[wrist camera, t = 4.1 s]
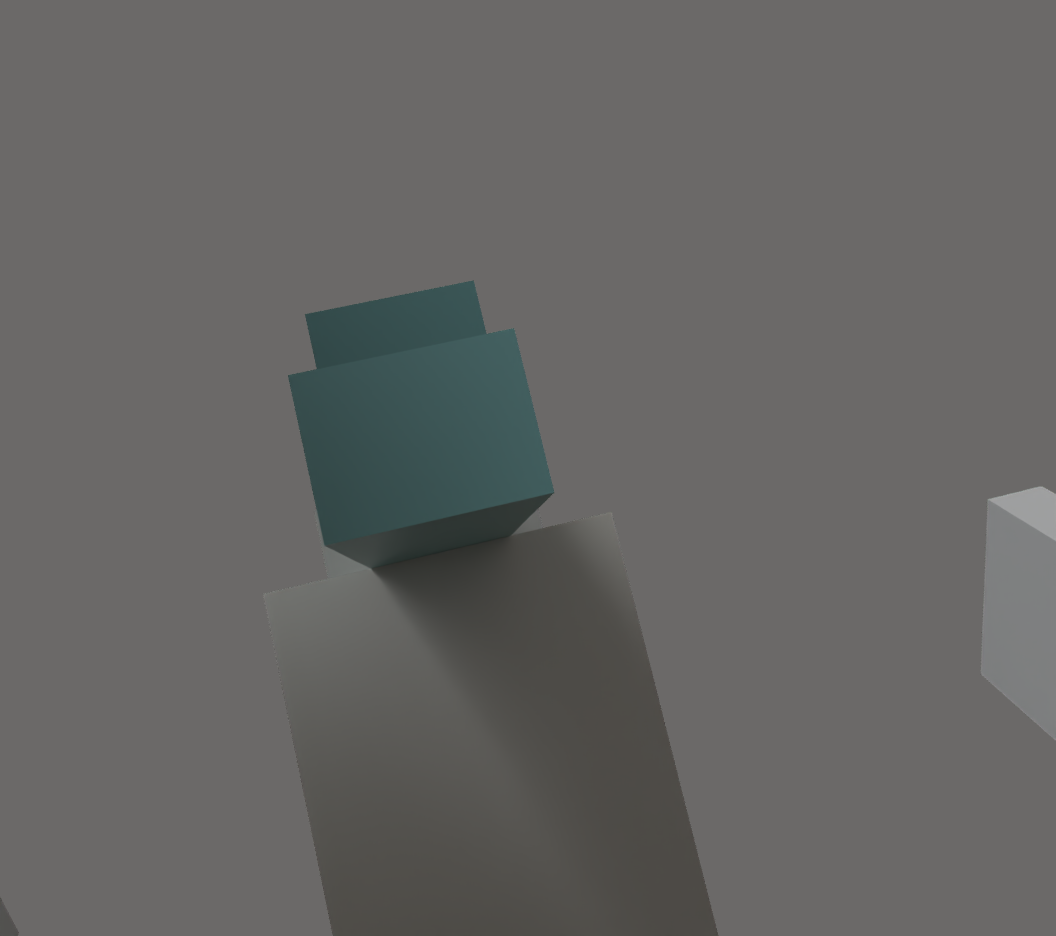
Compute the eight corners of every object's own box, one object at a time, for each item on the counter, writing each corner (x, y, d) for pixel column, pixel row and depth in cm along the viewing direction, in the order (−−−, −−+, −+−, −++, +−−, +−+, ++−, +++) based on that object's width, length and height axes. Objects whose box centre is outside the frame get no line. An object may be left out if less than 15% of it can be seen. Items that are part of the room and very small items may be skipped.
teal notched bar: (554, 492, 16) (501, 275, 17) (324, 546, 16) (275, 319, 16) (485, 560, 42) (465, 474, 42) (397, 581, 41) (377, 493, 42)
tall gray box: (911, 1681, 23) (582, 377, 27) (513, 1844, 22) (229, 453, 26) (710, 1220, 41) (527, 465, 45) (481, 1297, 39) (314, 513, 43)
